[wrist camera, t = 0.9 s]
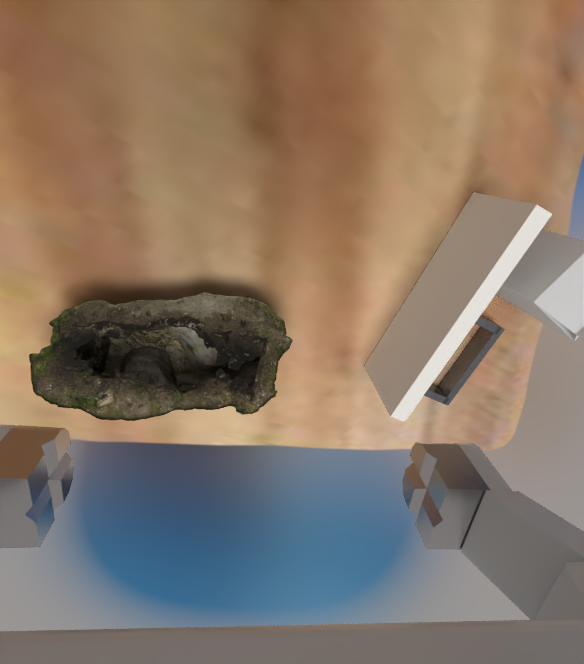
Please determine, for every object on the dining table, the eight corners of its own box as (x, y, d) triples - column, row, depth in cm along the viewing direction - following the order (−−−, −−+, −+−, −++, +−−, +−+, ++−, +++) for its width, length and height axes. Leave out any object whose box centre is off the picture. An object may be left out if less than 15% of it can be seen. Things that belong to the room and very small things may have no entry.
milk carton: (460, 262, 53) (562, 317, 35) (502, 217, 51) (632, 253, 33) (494, 293, 55) (605, 360, 38) (535, 252, 53) (673, 302, 36)
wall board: (473, 192, 49) (536, 204, 38) (486, 199, 50) (552, 214, 39) (364, 365, 58) (390, 416, 47) (375, 370, 58) (404, 422, 47)
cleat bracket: (431, 290, 54) (441, 297, 51) (492, 320, 57) (504, 329, 54) (380, 369, 58) (387, 379, 55) (439, 393, 61) (448, 405, 58)
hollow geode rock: (81, 319, 56) (51, 430, 50) (42, 272, 44) (-3, 410, 39) (283, 339, 59) (276, 445, 53) (296, 300, 47) (289, 431, 42)
